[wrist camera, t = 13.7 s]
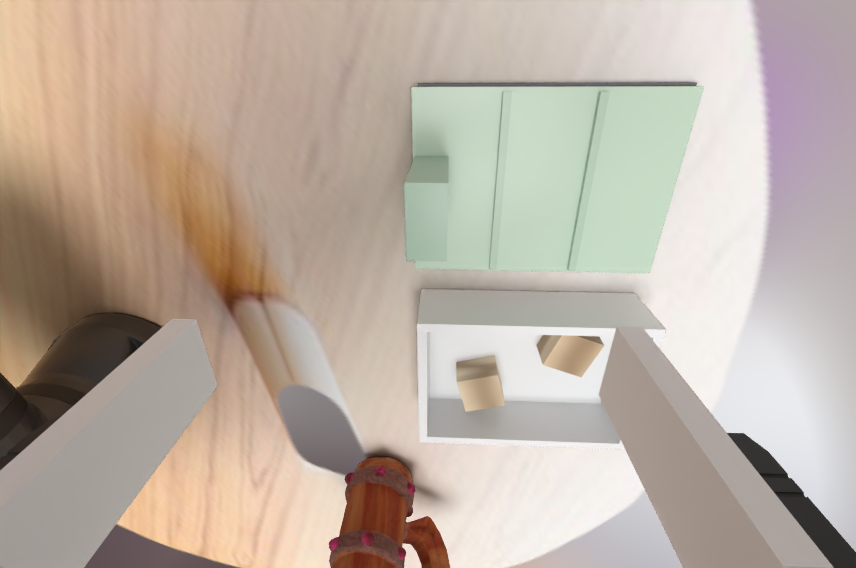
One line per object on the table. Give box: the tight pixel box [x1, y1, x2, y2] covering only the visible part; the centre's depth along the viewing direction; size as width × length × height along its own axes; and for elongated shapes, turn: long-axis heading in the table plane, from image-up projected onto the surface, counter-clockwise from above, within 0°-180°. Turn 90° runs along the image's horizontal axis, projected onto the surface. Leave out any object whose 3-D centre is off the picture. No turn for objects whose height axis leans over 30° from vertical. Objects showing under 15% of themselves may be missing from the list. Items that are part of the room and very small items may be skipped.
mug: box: [329, 457, 450, 568], centre depth 44 cm, size 15×8×15 cm, turn 55°
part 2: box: [536, 335, 604, 377], centre depth 37 cm, size 4×4×3 cm
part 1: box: [456, 355, 505, 412], centre depth 40 cm, size 4×4×3 cm
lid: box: [404, 86, 704, 273], centre depth 28 cm, size 21×15×10 cm
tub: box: [417, 289, 666, 450], centre depth 38 cm, size 20×14×6 cm
